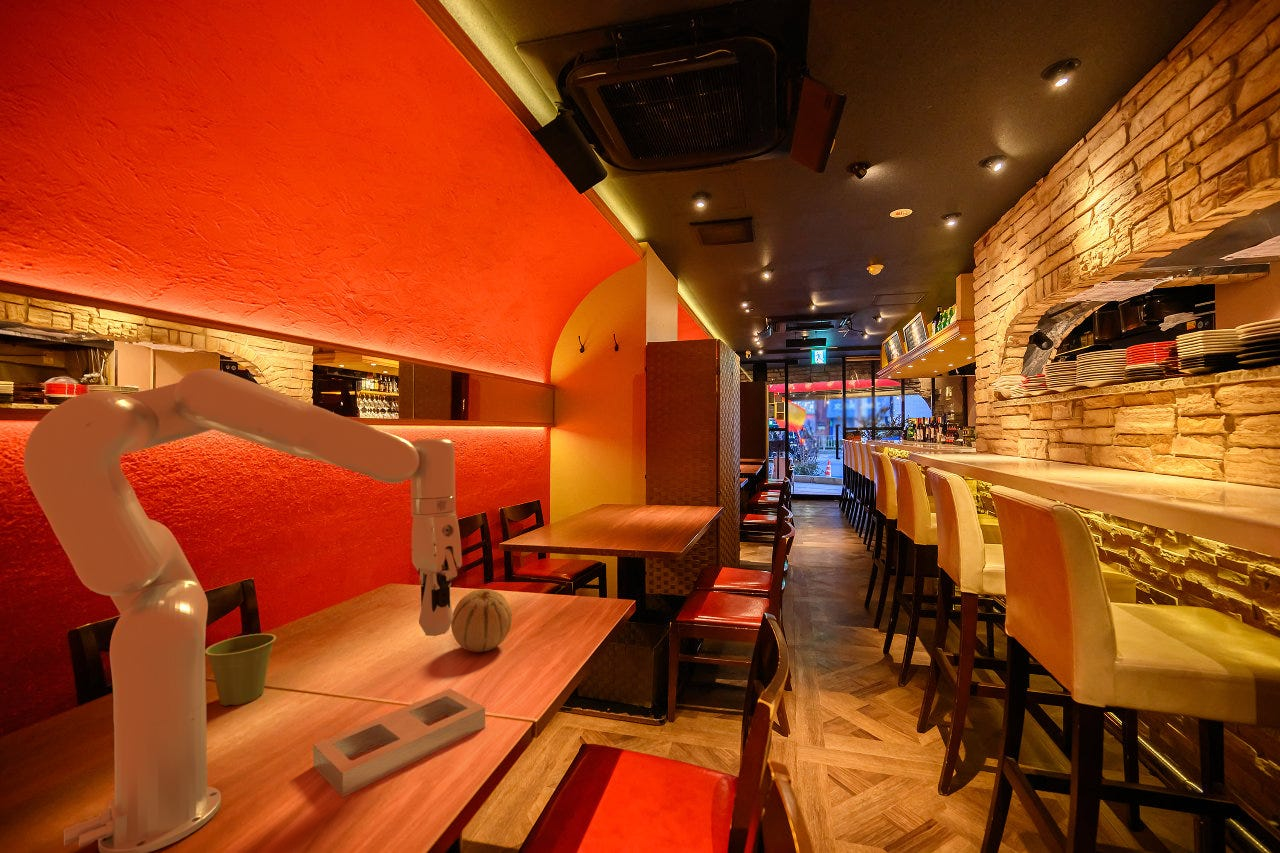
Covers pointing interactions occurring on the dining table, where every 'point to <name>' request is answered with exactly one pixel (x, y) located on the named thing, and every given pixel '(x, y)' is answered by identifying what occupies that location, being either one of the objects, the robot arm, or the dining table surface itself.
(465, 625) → the cantaloupe
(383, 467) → the robot arm
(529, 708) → the dining table surface
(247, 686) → the plant pot
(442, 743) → the beige compartment tray
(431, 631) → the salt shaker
